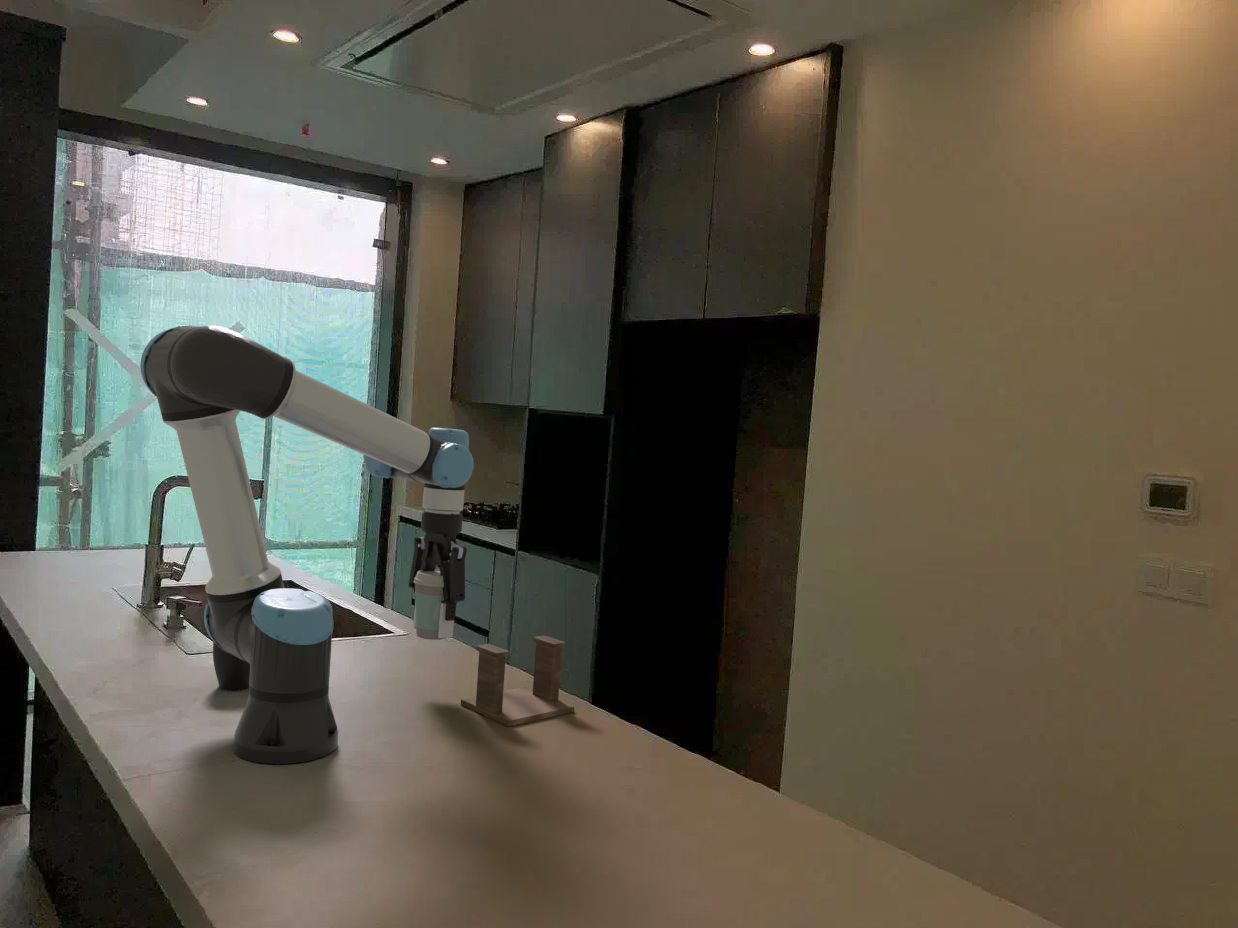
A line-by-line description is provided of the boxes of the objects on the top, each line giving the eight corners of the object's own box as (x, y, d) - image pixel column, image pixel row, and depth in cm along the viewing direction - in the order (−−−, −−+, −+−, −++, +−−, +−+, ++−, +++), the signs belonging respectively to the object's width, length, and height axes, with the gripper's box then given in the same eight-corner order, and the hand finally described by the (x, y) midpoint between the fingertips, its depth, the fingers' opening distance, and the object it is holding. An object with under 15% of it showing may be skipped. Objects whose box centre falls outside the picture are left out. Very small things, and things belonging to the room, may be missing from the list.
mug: (287, 685, 180) (289, 634, 180) (223, 695, 172) (225, 642, 171) (266, 674, 186) (268, 625, 186) (203, 684, 177) (205, 632, 177)
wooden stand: (506, 726, 166) (511, 658, 165) (458, 704, 176) (462, 640, 175) (575, 711, 177) (580, 647, 176) (526, 691, 187) (531, 630, 186)
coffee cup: (430, 643, 177) (436, 578, 176) (399, 634, 182) (404, 570, 181) (464, 638, 184) (470, 574, 183) (434, 629, 189) (439, 567, 188)
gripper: (492, 518, 177) (481, 642, 178) (429, 504, 192) (419, 619, 193) (458, 518, 172) (447, 646, 173) (395, 504, 186) (385, 622, 187)
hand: (432, 632), depth 183 cm, fingers closed on coffee cup, 8 cm apart
